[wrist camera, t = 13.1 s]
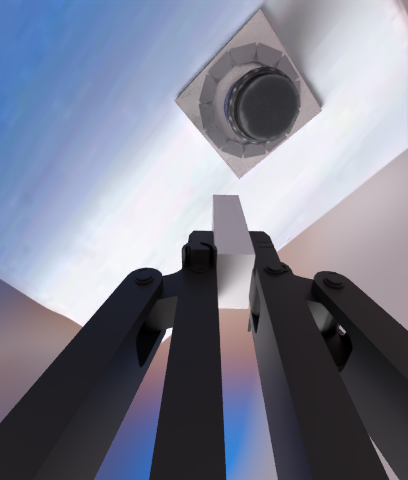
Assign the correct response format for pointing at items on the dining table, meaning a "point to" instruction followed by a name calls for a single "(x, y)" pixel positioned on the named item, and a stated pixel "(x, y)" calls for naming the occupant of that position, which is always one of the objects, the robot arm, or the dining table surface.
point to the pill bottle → (262, 105)
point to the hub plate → (224, 76)
